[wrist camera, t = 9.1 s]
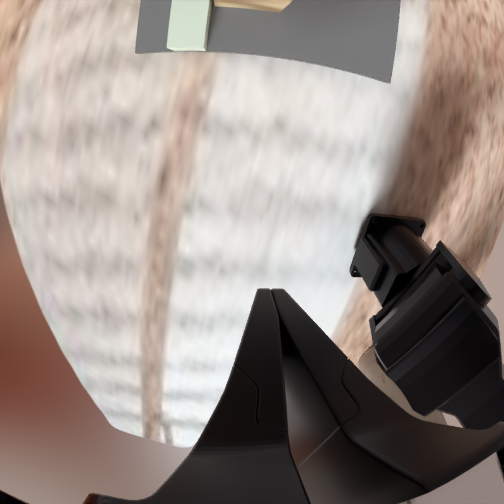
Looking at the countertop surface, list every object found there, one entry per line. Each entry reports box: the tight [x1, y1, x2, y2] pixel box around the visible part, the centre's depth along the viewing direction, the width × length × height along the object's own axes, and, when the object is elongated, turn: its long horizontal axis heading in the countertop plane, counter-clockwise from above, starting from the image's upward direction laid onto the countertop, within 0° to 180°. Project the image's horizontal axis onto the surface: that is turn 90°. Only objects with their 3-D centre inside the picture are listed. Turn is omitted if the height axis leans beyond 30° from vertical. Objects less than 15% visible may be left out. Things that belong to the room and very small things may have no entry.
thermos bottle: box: [359, 347, 447, 425], centre depth 25 cm, size 8×8×28 cm
